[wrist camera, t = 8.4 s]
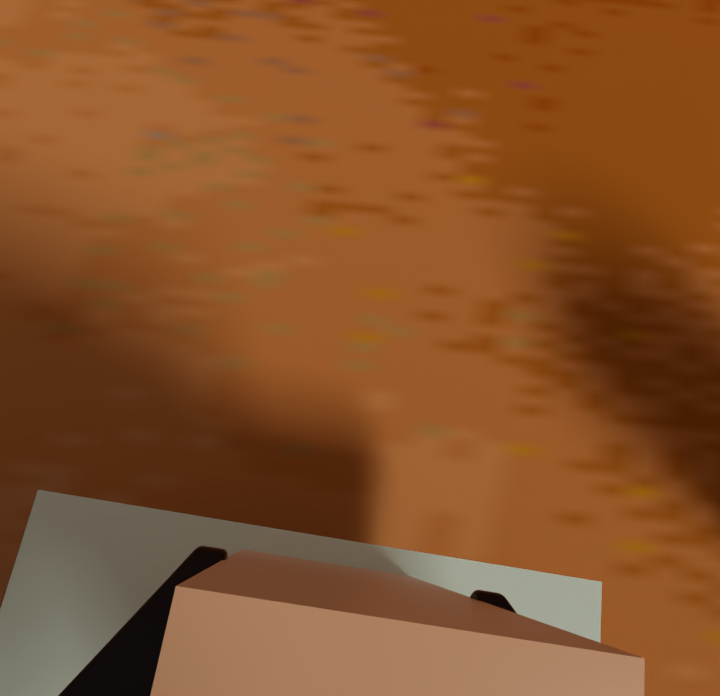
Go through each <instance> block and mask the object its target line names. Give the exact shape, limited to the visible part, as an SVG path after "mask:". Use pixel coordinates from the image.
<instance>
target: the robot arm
mask: <svg viewBox="0 0 720 696" xmlns="http://www.w3.org/2000/svg"><path fill="white" fill-rule="evenodd" d="M227 558H228V553H227V551H226V550H225V549H221V548H215V547H208V546H199V547H197V548H196V549H195V550H194V551H193V552H192V553H191V554H190V555H189V556H188V557H187V558H186V559H185V560H184V562H183V563H182V564H181V565H180V566H179V567H178V568H177V569H176V570H175V571H174V572H173V573H172V574H171V575H170V576H169V578H168V579H167V580H166V581H165V582H164V583H163V584H162V585H161V586H160V587H159V588H158V589H157V590H156V591H155V593H154V594H153V595H152V596H151V597H150V598H149V599H148V600H147V601H146V602H145V603H144V604H143V605H142V606H141V607H140V609H139V610H138V611H137V612H136V613H135V614H134V615H133V616H132V617H131V618H130V619H129V620H128V621H127V622H126V624H125V625H124V626H123V627H122V628H121V629H120V630H119V631H118V632H117V633H116V634H115V635H114V636H113V637H112V638H111V640H110V641H109V642H108V643H107V644H106V645H105V646H104V647H103V648H102V649H101V650H100V651H99V652H98V653H97V655H96V656H95V657H94V658H93V659H92V660H91V661H90V662H89V663H88V664H87V665H86V666H85V667H84V668H83V670H82V671H81V672H80V673H79V674H78V675H77V676H76V677H75V678H74V679H73V680H72V681H71V682H70V683H69V684H68V686H67V687H66V688H65V689H64V690H63V691H62V692H61V693H60V694H59V695H58V696H150V694H151V690H152V686H153V682H154V677H155V673H156V669H157V664H158V660H159V656H160V652H161V647H162V643H163V639H164V634H165V630H166V626H167V622H168V617H169V613H170V609H171V604H172V600H173V596H174V592H175V587H176V586H177V585H179V584H180V583H182V582H184V581H186V580H188V579H189V578H191V577H193V576H195V575H196V574H198V573H200V572H202V571H204V570H205V569H207V568H209V567H211V566H213V565H214V564H216V563H218V562H220V561H222V560H227ZM470 598H472V599H475V600H478V601H482V602H485V603H488V604H491V605H494V606H497V607H499V608H502V609H505V610H508V611H511V612H514V613H516V611H515V610H514V609H513V607H512V606H511V604H510V603H509V602H508V600H507V599H506V598H505V597H504V596H503V595H502V594H500V593H496V592H489V591H483V590H475V591H474V592H473V593H472V594H471V596H470Z"/></svg>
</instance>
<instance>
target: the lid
mask: <svg viewBox="0 0 720 696" xmlns="http://www.w3.org/2000/svg"><path fill="white" fill-rule="evenodd" d="M199 546H208V547H215V548H221V549H225V550H226V551H227V553H228V558H227V560H222V561H220V562H218V563H216V564H214V565H213V566H211V567H209V568H207V569H205V570H204V571H202V572H200V573H198V574H196V575H195V576H193V577H191V578H189V579H188V580H186V581H184V582H182V583H180V584H179V585H177V586H176V587H175V592H174V596H173V600H172V604H171V609H170V613H169V617H168V622H167V626H166V630H165V634H164V639H163V643H162V647H161V652H160V656H159V660H158V664H157V669H156V673H155V677H154V682H153V686H152V690H151V694H150V696H644V660H645V658H642V657H639V656H637V655H634V654H631V653H628V652H625V651H622V650H619V649H617V648H614V647H611V646H608V645H605V644H602V643H600V631H601V597H602V582H599V581H593V580H587V579H581V578H575V577H569V576H562V575H556V574H550V573H544V572H538V571H532V570H526V569H520V568H514V567H507V566H501V565H495V564H489V563H483V562H477V561H471V560H465V559H459V558H453V557H446V556H440V555H434V554H428V553H422V552H416V551H410V550H404V549H398V548H392V547H385V546H379V545H373V544H367V543H361V542H355V541H349V540H343V539H337V538H331V537H324V536H318V535H312V534H306V533H300V532H294V531H288V530H282V529H276V528H270V527H263V526H257V525H251V524H245V523H239V522H233V521H227V520H221V519H215V518H209V517H202V516H196V515H190V514H184V513H178V512H172V511H166V510H160V509H154V508H148V507H141V506H135V505H129V504H123V503H117V502H111V501H105V500H99V499H93V498H87V497H80V496H74V495H68V494H62V493H56V492H50V491H44V490H38V491H37V494H36V497H35V500H34V504H33V507H32V510H31V513H30V516H29V520H28V523H27V526H26V529H25V532H24V535H23V539H22V542H21V545H20V548H19V551H18V555H17V558H16V561H15V564H14V567H13V570H12V574H11V577H10V580H9V583H8V586H7V590H6V593H5V596H4V599H3V602H2V606H1V609H0V696H58V695H59V694H60V693H61V692H62V691H63V690H64V689H65V688H66V687H67V686H68V684H69V683H70V682H71V681H72V680H73V679H74V678H75V677H76V676H77V675H78V674H79V673H80V672H81V671H82V670H83V668H84V667H85V666H86V665H87V664H88V663H89V662H90V661H91V660H92V659H93V658H94V657H95V656H96V655H97V653H98V652H99V651H100V650H101V649H102V648H103V647H104V646H105V645H106V644H107V643H108V642H109V641H110V640H111V638H112V637H113V636H114V635H115V634H116V633H117V632H118V631H119V630H120V629H121V628H122V627H123V626H124V625H125V624H126V622H127V621H128V620H129V619H130V618H131V617H132V616H133V615H134V614H135V613H136V612H137V611H138V610H139V609H140V607H141V606H142V605H143V604H144V603H145V602H146V601H147V600H148V599H149V598H150V597H151V596H152V595H153V594H154V593H155V591H156V590H157V589H158V588H159V587H160V586H161V585H162V584H163V583H164V582H165V581H166V580H167V579H168V578H169V576H170V575H171V574H172V573H173V572H174V571H175V570H176V569H177V568H178V567H179V566H180V565H181V564H182V563H183V562H184V560H185V559H186V558H187V557H188V556H189V555H190V554H191V553H192V552H193V551H194V550H195V549H196V548H197V547H199ZM475 590H483V591H489V592H496V593H500V594H502V595H503V596H504V597H505V598H506V599H507V600H508V602H509V603H510V604H511V606H512V607H513V609H514V610H515V611H516V613H514V612H511V611H508V610H505V609H502V608H499V607H497V606H494V605H491V604H488V603H485V602H482V601H478V600H475V599H472V598H470V596H471V594H472V593H473V592H474V591H475Z"/></svg>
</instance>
